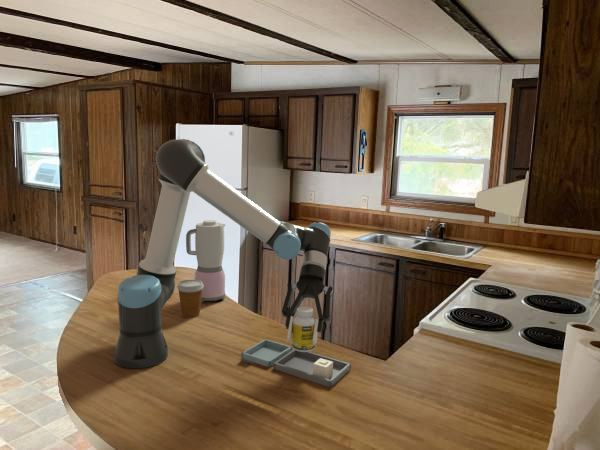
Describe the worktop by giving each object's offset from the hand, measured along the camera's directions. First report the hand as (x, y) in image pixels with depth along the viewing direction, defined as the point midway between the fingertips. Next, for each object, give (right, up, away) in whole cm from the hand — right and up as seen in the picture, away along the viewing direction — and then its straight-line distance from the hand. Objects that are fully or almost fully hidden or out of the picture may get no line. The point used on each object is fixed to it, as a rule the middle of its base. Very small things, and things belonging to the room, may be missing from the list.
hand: (301, 341), depth 132 cm
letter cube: (+6, -9, -1) cm, 11 cm away
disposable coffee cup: (-41, -1, +44) cm, 60 cm away
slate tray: (-10, -8, +11) cm, 17 cm away
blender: (-39, +2, +61) cm, 72 cm away
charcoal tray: (+3, -9, +3) cm, 10 cm away
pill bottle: (+1, -3, +4) cm, 5 cm away
